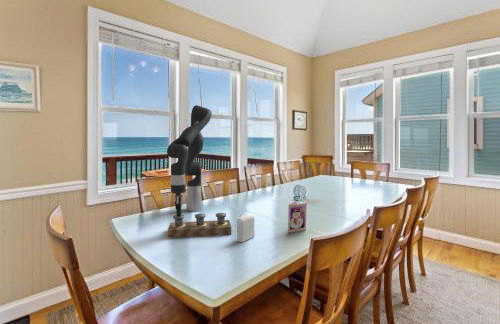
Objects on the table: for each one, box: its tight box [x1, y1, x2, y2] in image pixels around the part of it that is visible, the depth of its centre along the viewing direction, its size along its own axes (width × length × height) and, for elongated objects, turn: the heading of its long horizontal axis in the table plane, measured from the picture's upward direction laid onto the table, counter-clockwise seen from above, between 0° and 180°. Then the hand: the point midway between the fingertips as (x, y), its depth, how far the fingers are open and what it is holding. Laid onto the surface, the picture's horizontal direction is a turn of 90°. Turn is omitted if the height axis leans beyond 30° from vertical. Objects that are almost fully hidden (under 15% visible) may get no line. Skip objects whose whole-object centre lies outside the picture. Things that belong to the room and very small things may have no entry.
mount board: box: [167, 219, 232, 239], centre depth 141 cm, size 32×12×4 cm, turn 100°
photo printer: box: [236, 213, 256, 243], centre depth 132 cm, size 10×4×12 cm, turn 140°
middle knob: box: [194, 213, 207, 225], centre depth 141 cm, size 6×6×5 cm
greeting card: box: [287, 200, 307, 234], centre depth 146 cm, size 11×7×15 cm, turn 114°
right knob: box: [215, 212, 227, 224], centre depth 143 cm, size 6×6×5 cm
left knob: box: [172, 214, 185, 227], centre depth 139 cm, size 6×6×5 cm
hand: (178, 216), depth 139 cm, fingers closed
